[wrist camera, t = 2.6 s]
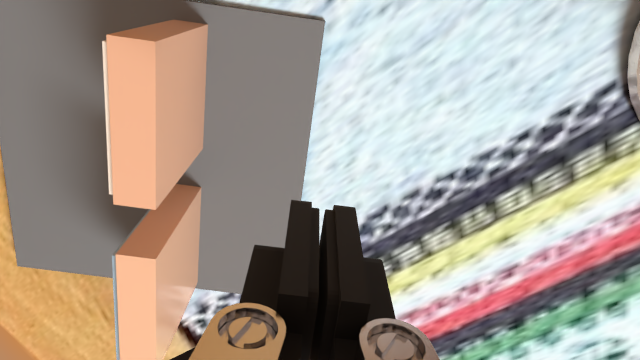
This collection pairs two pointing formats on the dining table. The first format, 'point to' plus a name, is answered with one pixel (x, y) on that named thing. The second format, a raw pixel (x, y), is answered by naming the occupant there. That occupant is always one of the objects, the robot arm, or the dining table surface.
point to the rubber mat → (91, 142)
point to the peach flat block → (156, 275)
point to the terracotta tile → (153, 108)
